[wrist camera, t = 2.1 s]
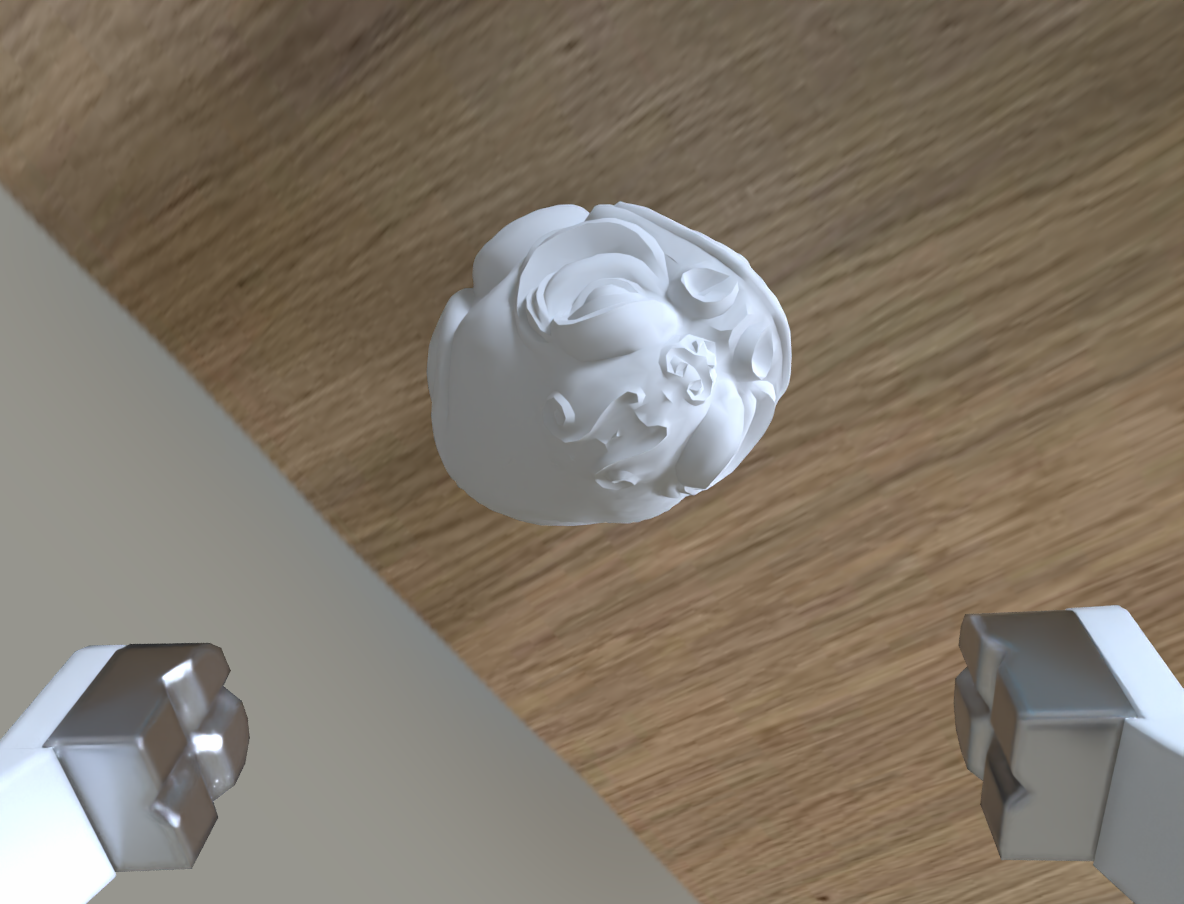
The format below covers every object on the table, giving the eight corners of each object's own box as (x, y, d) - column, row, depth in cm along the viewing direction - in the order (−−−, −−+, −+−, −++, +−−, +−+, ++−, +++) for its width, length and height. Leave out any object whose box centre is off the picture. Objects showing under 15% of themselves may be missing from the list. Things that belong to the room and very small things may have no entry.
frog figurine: (822, 310, 20) (895, 470, 14) (576, 482, 23) (547, 682, 17) (648, 78, 18) (644, 148, 12) (397, 294, 21) (289, 443, 15)
